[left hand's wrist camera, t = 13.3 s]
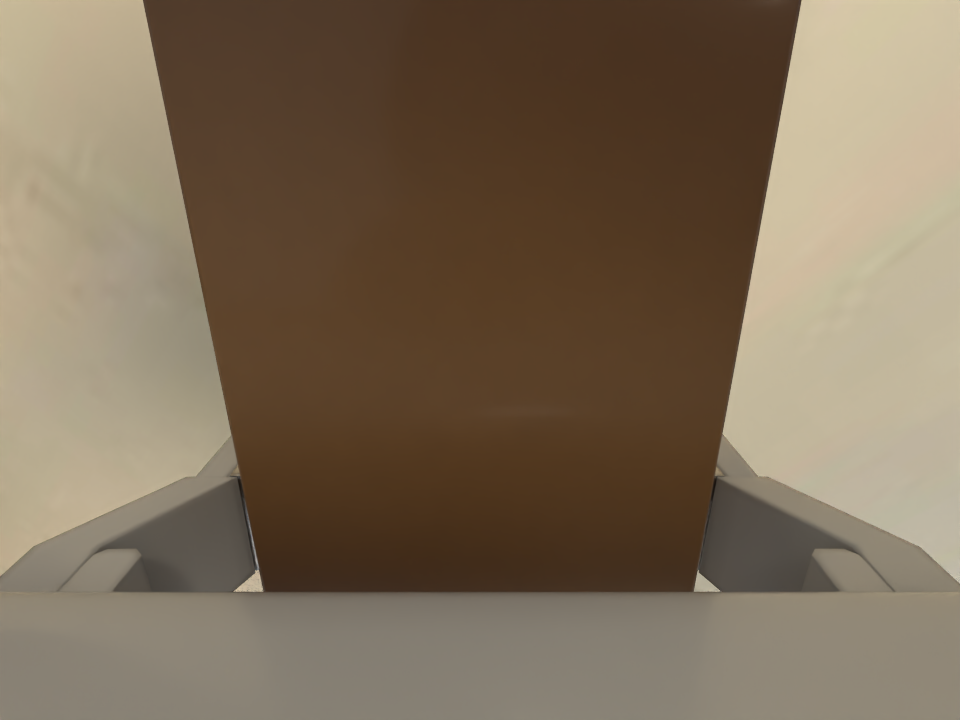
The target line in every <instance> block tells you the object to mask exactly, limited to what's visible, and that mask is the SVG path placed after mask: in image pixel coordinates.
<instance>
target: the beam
mask: <svg viewBox="0 0 960 720" xmlns="http://www.w3.org/2000/svg"><path fill="white" fill-rule="evenodd" d="M143 2H144V7H145V12H146V17H147V22H148V27H149V32H150V37H151V42H152V47H153V51H154V56H155V61H156V66H157V71H158V76H159V81H160V86H161V91H162V96H163V100H164V105H165V110H166V115H167V120H168V125H169V130H170V135H171V140H172V145H173V150H174V154H175V159H176V164H177V169H178V174H179V179H180V184H181V189H182V194H183V199H184V204H185V208H186V213H187V218H188V223H189V228H190V233H191V238H192V243H193V248H194V253H195V257H196V262H197V267H198V272H199V277H200V282H201V287H202V292H203V297H204V302H205V307H206V311H207V316H208V321H209V326H210V331H211V336H212V341H213V346H214V351H215V356H216V361H217V365H218V370H219V375H220V380H221V385H222V390H223V395H224V400H225V405H226V410H227V414H228V419H229V424H230V429H231V434H232V439H233V444H234V449H235V454H236V459H237V464H238V468H239V473H240V478H241V483H242V488H243V493H244V498H245V503H246V508H247V513H248V518H249V522H250V527H251V532H252V537H253V542H254V547H255V552H256V557H257V562H258V567H259V571H260V576H261V581H262V586H263V591H264V592H694V586H695V581H696V575H697V570H698V564H699V559H700V553H701V548H702V543H703V537H704V532H705V526H706V521H707V515H708V510H709V504H710V499H711V493H712V488H713V482H714V477H715V471H716V466H717V460H718V455H719V449H720V444H721V438H722V433H723V427H724V422H725V416H726V411H727V406H728V400H729V395H730V389H731V384H732V378H733V373H734V367H735V362H736V356H737V351H738V345H739V340H740V334H741V329H742V323H743V318H744V312H745V307H746V301H747V296H748V290H749V285H750V279H751V274H752V268H753V263H754V258H755V252H756V247H757V241H758V236H759V230H760V225H761V219H762V214H763V208H764V203H765V197H766V192H767V186H768V181H769V175H770V170H771V164H772V159H773V153H774V148H775V142H776V137H777V131H778V126H779V121H780V115H781V110H782V104H783V99H784V93H785V88H786V82H787V77H788V71H789V66H790V60H791V55H792V49H793V44H794V38H795V33H796V27H797V22H798V16H799V11H800V5H801V0H143Z"/></svg>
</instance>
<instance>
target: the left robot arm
mask: <svg viewBox="0 0 960 720" xmlns="http://www.w3.org/2000/svg"><path fill="white" fill-rule="evenodd" d="M255 570H259V567H258V562H257V557H256V552H255V547H254V542H253V537H252V532H251V527H250V522H249V518H248V513H247V508H246V503H245V498H244V493H243V488H242V483H241V478H240V473H239V468H238V464H237V459H236V454H235V449H234V444H233V439H232V435H231V436H230V437H229V438H228V440H227V441H226V442H225V443H224V444H223V445H222V447H221V448H220V449H219V450H218V451H217V452H216V454H215V455H214V456H213V457H212V458H211V460H210V461H209V462H208V463H207V464H206V465H205V467H204V468H203V469H202V470H201V471H200V472H199V474H198V475H197V476H196V477H185V478H183V479H181V480H179V481H176V482H174V483H172V484H170V485H168V486H165V487H163V488H161V489H159V490H157V491H154V492H152V493H150V494H148V495H146V496H143V497H141V498H139V499H137V500H135V501H132V502H130V503H128V504H126V505H124V506H121V507H119V508H117V509H115V510H113V511H111V512H108V513H106V514H104V515H102V516H100V517H97V518H95V519H93V520H91V521H89V522H86V523H84V524H82V525H80V526H78V527H75V528H73V529H71V530H69V531H67V532H64V533H62V534H60V535H58V536H56V537H53V538H51V539H49V540H47V541H45V542H42V543H40V544H38V545H36V546H34V547H32V548H31V549H30V550H29V551H28V552H27V553H26V554H25V555H24V556H23V557H21V558H20V559H19V560H18V561H17V562H16V563H15V564H14V565H13V566H11V567H10V568H9V569H8V570H7V571H6V572H5V573H4V574H3V575H2V576H0V720H960V584H959V583H958V582H957V581H956V580H955V579H954V578H953V577H952V576H951V575H950V574H949V573H947V572H946V571H945V570H944V569H943V568H942V567H941V566H940V565H939V564H938V563H937V562H936V561H934V560H933V559H932V558H931V557H930V556H929V555H928V554H927V553H926V552H925V551H924V550H923V549H922V548H920V547H918V546H916V545H914V544H912V543H910V542H908V541H905V540H903V539H901V538H899V537H897V536H895V535H892V534H890V533H888V532H886V531H884V530H882V529H879V528H877V527H875V526H873V525H871V524H869V523H866V522H864V521H862V520H860V519H858V518H856V517H853V516H851V515H849V514H847V513H845V512H843V511H840V510H838V509H836V508H834V507H832V506H830V505H827V504H825V503H823V502H821V501H819V500H817V499H814V498H812V497H810V496H808V495H806V494H804V493H801V492H799V491H797V490H795V489H793V488H791V487H788V486H786V485H784V484H782V483H780V482H778V481H775V480H773V479H771V478H769V477H758V476H757V475H756V473H755V472H754V471H753V470H752V469H751V467H750V466H749V465H748V464H747V463H746V462H745V460H744V459H743V458H742V457H741V456H740V454H739V453H738V452H737V451H736V450H735V448H734V447H733V446H732V445H731V444H730V442H729V441H728V440H727V439H726V438H725V436H724V435H723V434H722V438H721V444H720V449H719V455H718V460H717V466H716V471H715V477H714V482H713V488H712V493H711V499H710V504H709V510H708V515H707V521H706V526H705V532H704V537H703V543H702V548H701V553H700V559H699V564H698V570H699V573H700V574H701V575H703V576H704V577H705V578H706V579H707V580H709V581H710V582H711V583H712V584H713V585H714V586H716V587H717V588H718V589H719V590H720V591H721V592H233V591H234V590H235V589H237V588H238V587H239V586H240V585H241V584H243V583H244V582H245V581H246V580H247V579H248V578H250V577H251V576H252V575H253V574H254V573H255Z"/></svg>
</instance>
